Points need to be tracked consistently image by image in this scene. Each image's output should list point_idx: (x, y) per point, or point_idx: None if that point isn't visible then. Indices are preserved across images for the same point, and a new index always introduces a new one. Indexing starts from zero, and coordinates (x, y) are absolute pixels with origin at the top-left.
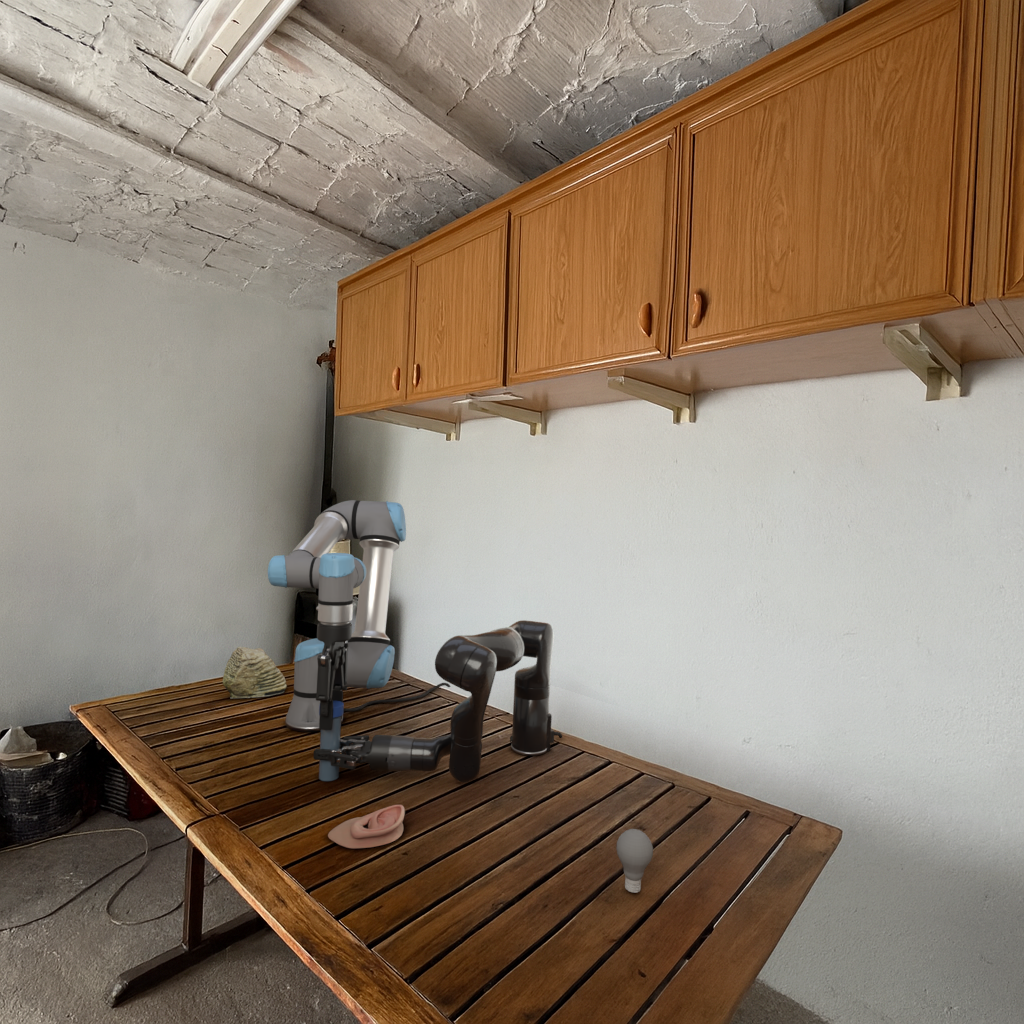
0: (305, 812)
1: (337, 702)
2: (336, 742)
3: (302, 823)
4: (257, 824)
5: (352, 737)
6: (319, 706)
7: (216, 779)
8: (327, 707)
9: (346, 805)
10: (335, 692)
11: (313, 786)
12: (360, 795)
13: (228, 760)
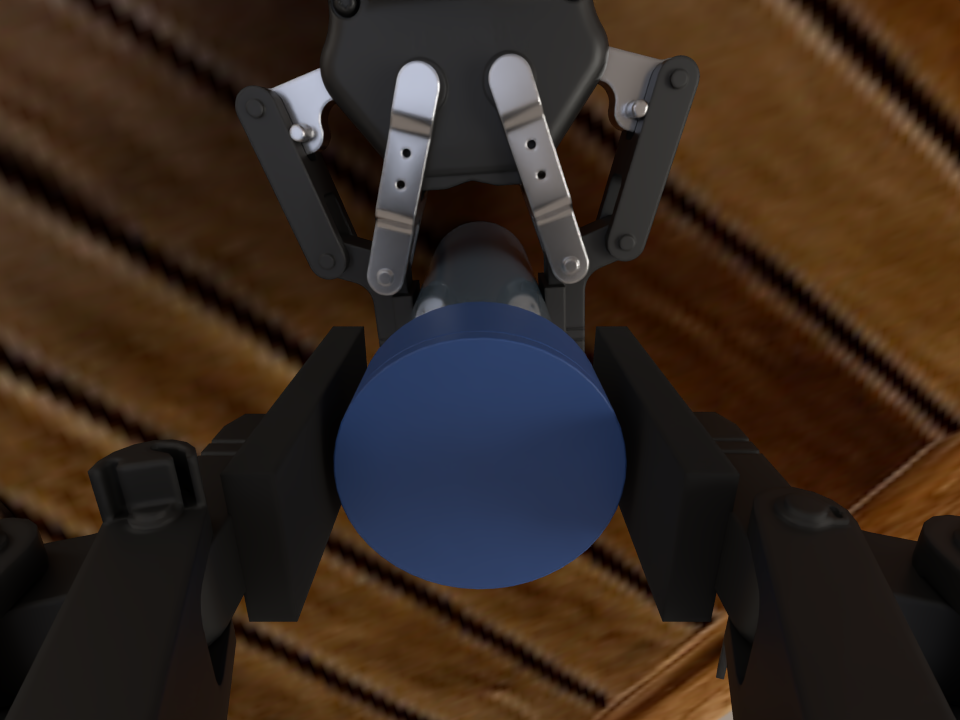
0: (842, 244)
1: (396, 436)
2: (520, 272)
3: (943, 219)
4: (927, 389)
5: (312, 213)
6: (538, 568)
7: (566, 651)
8: (766, 467)
9: (782, 68)
10: (294, 554)
11: (587, 304)
12: (669, 26)
13: (406, 681)
